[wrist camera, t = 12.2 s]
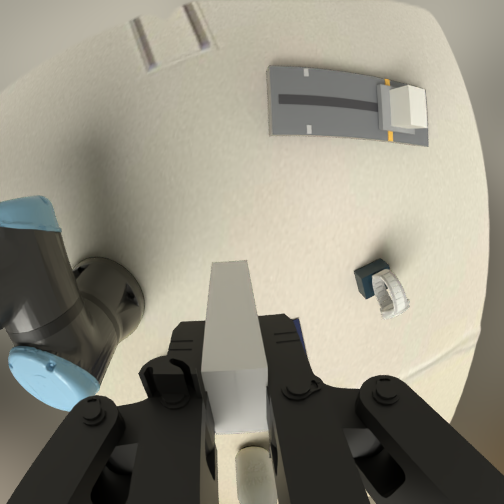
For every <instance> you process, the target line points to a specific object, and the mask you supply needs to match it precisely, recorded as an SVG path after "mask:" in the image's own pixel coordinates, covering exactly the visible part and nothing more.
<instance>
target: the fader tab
mask: <svg viewBox="0 0 504 504" xmlns="http://www.w3.org/2000/svg"><path fill="white" fill-rule="evenodd" d="M377 98H378V115H379V130H383V131H391V132H398V133H404V134H410V135H412V134H415V128H427V110H426V96H425V89H421V88H418V87H414V86H411V85H406V86H402V87H399V88H396V87H392V86H387V85H382V84H379V85H377Z"/></svg>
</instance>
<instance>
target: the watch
mask: <svg viewBox="0 0 504 504" xmlns="http://www.w3.org/2000/svg"><path fill="white" fill-rule="evenodd" d="M354 274H355V278H356V281H357V285H358V289H359V292H360V293H361V294H362V295H363V296H364V297H365V299H368V298H370V297H372V296H374V295H375V296H376V299H377V301H378V303H379V305H380V307H381V308H380V311H381V315H382V319H390V318H393V317H395V316H398V315H400V314H402V313H403V312H405V311H406V310H407V309H408V308H409V307H410V306H409V303H410V301H409V299H407V297H406V294H405V291H404V288H403V286H402V285H401V283H400V281H399V280H398V278H397V277H396V276H395V274H394V273H393V272H391V270H390V267H389V265H388V264H387V263H386V262H385V261H383V260H382V259H381V258H380V259H378V260H376V261H374V262H372V263H370V264H368V265H366V266H364V267H362V268H360V269H357V270H355V271H354ZM386 289H389V291H390V295H391V297H392V300H391V298H390V296H388V295H389V294H388V292H387V291H386ZM400 290H401V291H400ZM398 291H399V292H398ZM384 295H385V296H384ZM382 296H383V297H382ZM380 297H381V298H380ZM384 301H385V302H384ZM382 302H383V303H382Z"/></svg>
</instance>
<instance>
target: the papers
mask: <svg viewBox="0 0 504 504" xmlns="http://www.w3.org/2000/svg"><path fill="white" fill-rule="evenodd" d="M293 322H294V324H295V327H296V329H297V333H298V335H299V337H300V341H301V343H302V345H303V348H304V351H305V353H306V350H305V346H304V341H303V337H302V332H301V328H300V323H299V319H296V320H293ZM306 356H307V355H306ZM215 433H216V432H215Z"/></svg>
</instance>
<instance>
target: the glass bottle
mask: <svg viewBox="0 0 504 504" xmlns="http://www.w3.org/2000/svg"><path fill="white" fill-rule="evenodd" d="M235 462H236V481H237V494H238V500H239V503H240V504H277V499H278V496H277V490H276V484H275V478H274V472H273V466H272V460H271V458H269V452H268V451H267V450H266V449H264V448H261V447H254V446H253V447H246V448H244V449H242V450H240V451H239V452H238V453H237V455H236V457H235Z"/></svg>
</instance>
